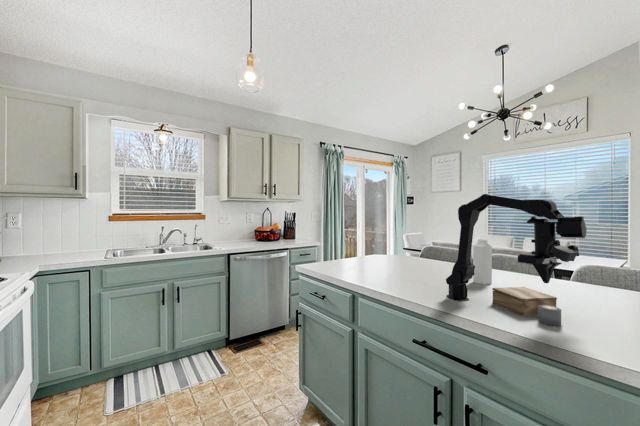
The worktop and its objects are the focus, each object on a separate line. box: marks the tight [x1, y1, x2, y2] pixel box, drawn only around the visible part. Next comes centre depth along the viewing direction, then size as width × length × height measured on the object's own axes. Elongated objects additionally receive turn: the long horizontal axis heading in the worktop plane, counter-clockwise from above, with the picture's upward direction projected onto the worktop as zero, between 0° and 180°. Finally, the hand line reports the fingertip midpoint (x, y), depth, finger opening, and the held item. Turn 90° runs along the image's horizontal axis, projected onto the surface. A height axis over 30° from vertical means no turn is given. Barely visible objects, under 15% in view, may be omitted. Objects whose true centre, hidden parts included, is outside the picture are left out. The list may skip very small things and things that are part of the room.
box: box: [492, 290, 557, 317], centre depth 111 cm, size 14×14×5 cm
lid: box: [492, 286, 558, 301], centre depth 111 cm, size 14×14×1 cm
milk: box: [472, 238, 493, 286], centre depth 149 cm, size 6×6×22 cm
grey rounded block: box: [537, 305, 562, 328], centre depth 97 cm, size 6×6×5 cm
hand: (546, 283), depth 99 cm, fingers closed
